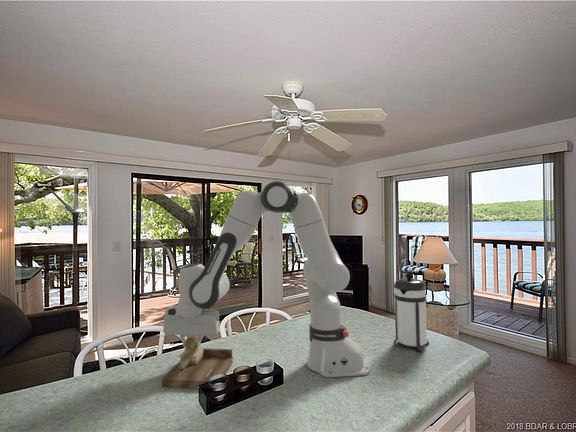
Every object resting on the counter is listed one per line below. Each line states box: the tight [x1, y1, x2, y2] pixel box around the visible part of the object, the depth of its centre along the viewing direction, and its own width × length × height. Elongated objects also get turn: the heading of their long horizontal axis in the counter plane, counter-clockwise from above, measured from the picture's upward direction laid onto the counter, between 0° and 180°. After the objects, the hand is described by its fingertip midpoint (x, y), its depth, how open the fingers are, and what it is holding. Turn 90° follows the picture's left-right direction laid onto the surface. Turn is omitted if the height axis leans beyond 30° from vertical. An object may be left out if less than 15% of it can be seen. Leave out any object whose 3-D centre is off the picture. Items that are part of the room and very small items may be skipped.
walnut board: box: [161, 347, 233, 390], centre depth 104 cm, size 18×18×5 cm
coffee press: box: [392, 272, 430, 353], centre depth 127 cm, size 17×16×30 cm
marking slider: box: [179, 335, 204, 371], centre depth 106 cm, size 6×12×8 cm, turn 174°
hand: (191, 346), depth 109 cm, fingers closed on marking slider, 3 cm apart
